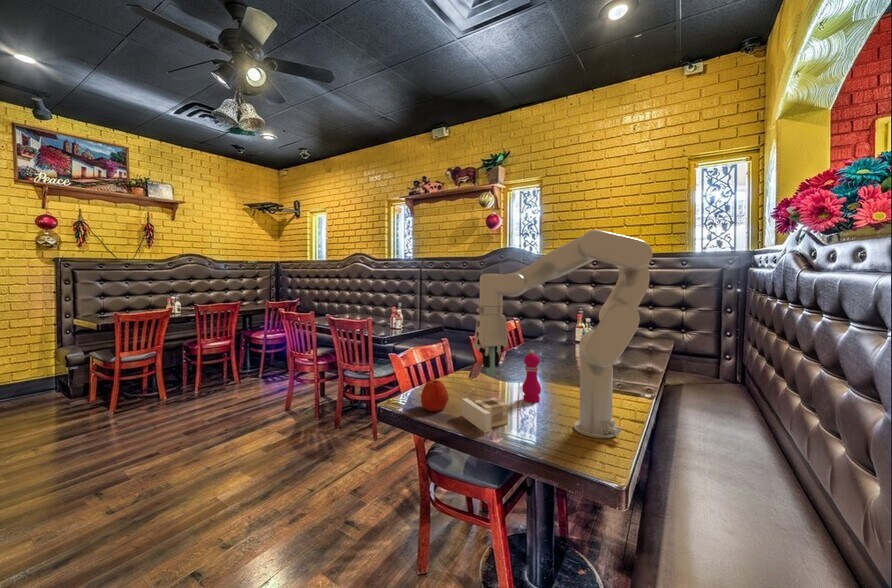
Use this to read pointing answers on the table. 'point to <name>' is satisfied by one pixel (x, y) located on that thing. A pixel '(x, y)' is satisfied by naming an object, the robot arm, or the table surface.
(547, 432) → the table surface
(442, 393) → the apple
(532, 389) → the pepper mill
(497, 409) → the block
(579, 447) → the table surface
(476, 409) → the wall
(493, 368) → the dowel
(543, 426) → the table surface
